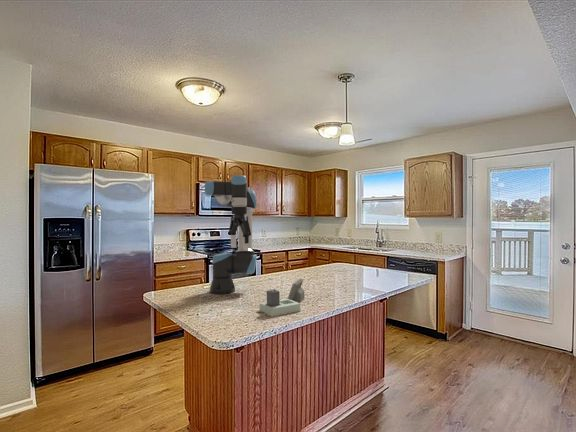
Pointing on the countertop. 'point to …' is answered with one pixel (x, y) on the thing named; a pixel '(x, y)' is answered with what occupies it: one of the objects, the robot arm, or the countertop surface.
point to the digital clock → (296, 291)
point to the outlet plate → (280, 307)
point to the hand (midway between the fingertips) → (239, 248)
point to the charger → (273, 298)
